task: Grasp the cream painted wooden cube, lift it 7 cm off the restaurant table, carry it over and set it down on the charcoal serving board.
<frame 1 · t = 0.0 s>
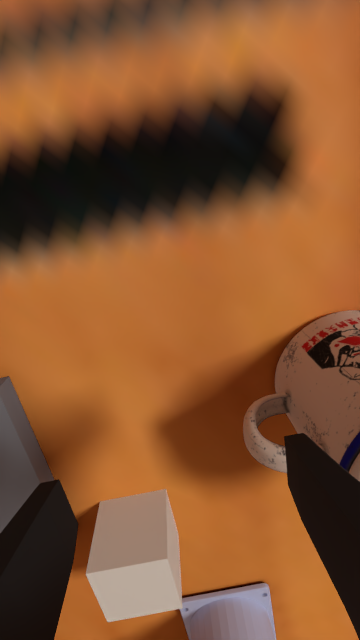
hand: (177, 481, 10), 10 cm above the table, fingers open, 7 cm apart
teacup with lid: (314, 371, 21), on the table
cube: (140, 517, 25), on the table
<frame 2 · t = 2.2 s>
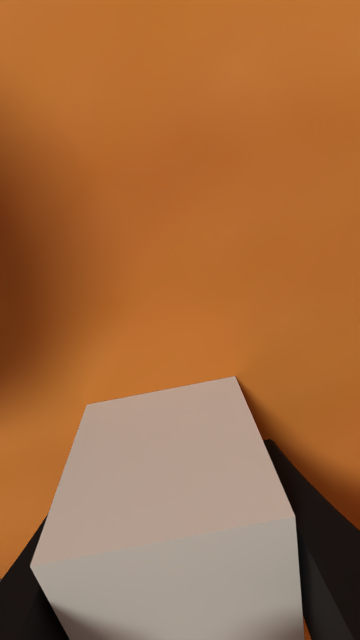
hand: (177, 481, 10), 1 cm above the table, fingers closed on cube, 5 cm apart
cube: (174, 448, 11), on the table, touching gripper
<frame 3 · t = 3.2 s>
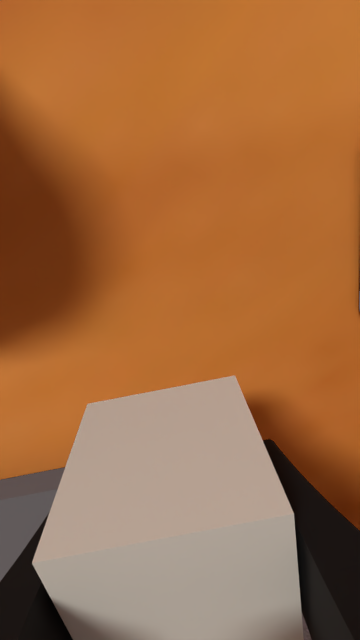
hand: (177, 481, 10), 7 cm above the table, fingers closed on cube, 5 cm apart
serving board: (91, 525, 20), on the table
cube: (175, 447, 12), point 6 cm above the table, touching gripper
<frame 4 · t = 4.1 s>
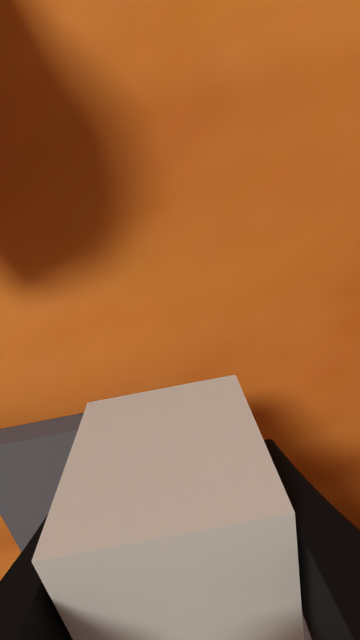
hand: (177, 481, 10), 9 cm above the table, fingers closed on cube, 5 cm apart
serving board: (115, 473, 21), on the table
cube: (175, 447, 12), point 7 cm above the table, touching gripper
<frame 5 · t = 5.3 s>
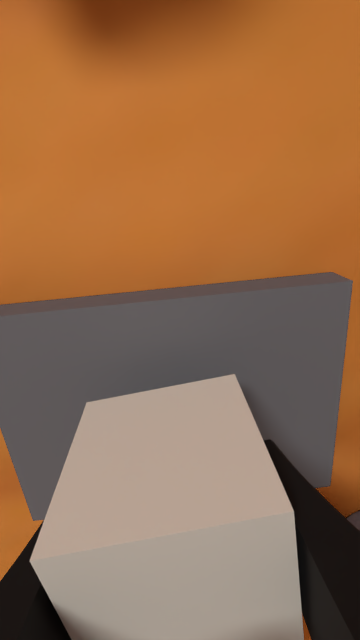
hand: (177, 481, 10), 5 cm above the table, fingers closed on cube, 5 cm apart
serving board: (172, 394, 15), on the table
cube: (174, 446, 12), point 3 cm above the table, touching gripper
when the fingers open (4 cm above the table, at t = 6.3 s): cube drops 1 cm, resting on serving board.
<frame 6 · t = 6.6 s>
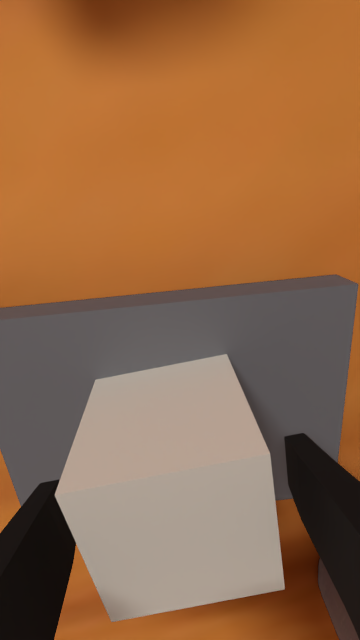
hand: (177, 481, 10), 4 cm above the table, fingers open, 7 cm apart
serving board: (172, 400, 14), on the table
cube: (173, 420, 13), point 1 cm above the table, touching serving board
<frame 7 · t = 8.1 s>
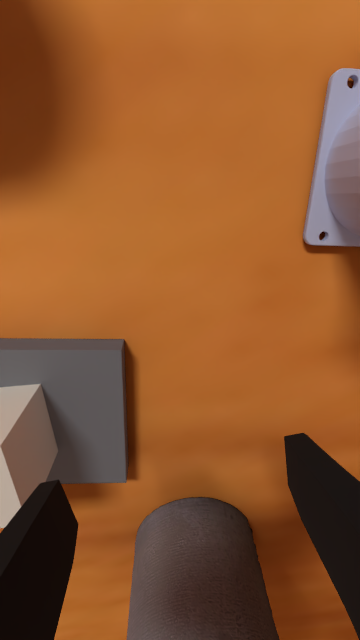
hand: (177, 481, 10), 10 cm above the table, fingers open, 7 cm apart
serving board: (18, 408, 21), on the table
pillar candle: (191, 536, 27), on the table
cube: (8, 422, 20), point 1 cm above the table, touching serving board
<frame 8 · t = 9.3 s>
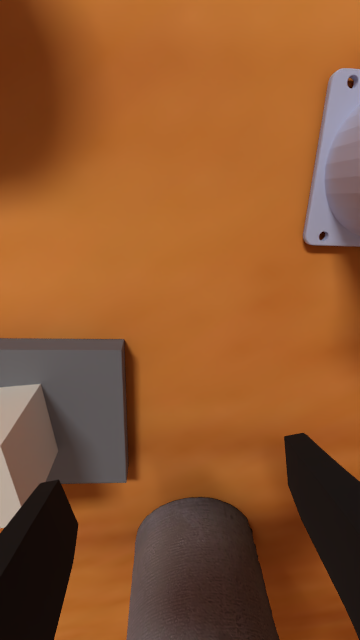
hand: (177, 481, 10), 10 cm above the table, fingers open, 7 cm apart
serving board: (18, 408, 21), on the table
pillar candle: (191, 536, 27), on the table
cube: (8, 422, 20), point 1 cm above the table, touching serving board
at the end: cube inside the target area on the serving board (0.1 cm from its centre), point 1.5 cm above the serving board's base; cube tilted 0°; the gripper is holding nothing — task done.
